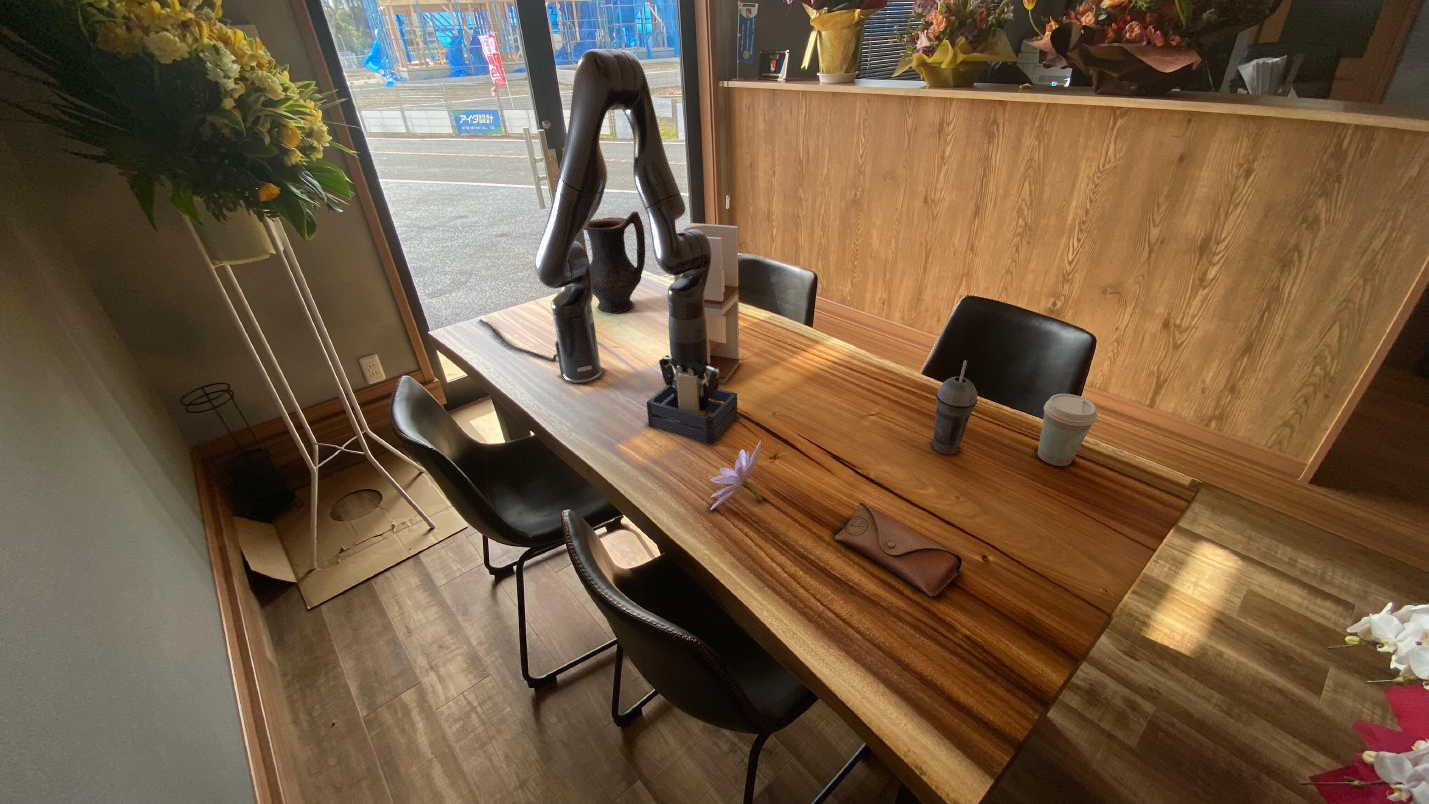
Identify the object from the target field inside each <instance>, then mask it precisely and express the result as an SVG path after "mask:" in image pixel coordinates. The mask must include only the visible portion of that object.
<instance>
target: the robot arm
mask: <svg viewBox="0 0 1429 804" xmlns="http://www.w3.org/2000/svg"><path fill="white" fill-rule="evenodd" d="M573 78H574V79H573V86H572V95H571V104H570V111H569V112H570V113H569V120H568V128H567V132H566V139H565V143H564V148H563V153H562V157H561V162H560V165H559V169H558V174H557V177H556V178H557V179H556V182H555V189H554V192H553V193H554V194H553V198H552V203H551V207H550V210H549V214H548V218H547V222H546V225H545V228H544V230H543V234H542V237H541V239H540V242H539V244H538V248H537V250H536V255H535V259H534V267H535V273H536V277H537V279H538V281H539V282H540V284H542V286H544V287H546V288H548V289H553V290H554V289H560V288H561V289H560V290H559V292H558V293H557V294H556V295H555V296H554V297H553V299H552V300H551V301H550V307H551V308H550V309H551V314H552V318H553V323H554V329H555V334H556V340H555V342H554V345H555V350H556V353H555V354H553V357H547V356H544V355H541V354H539V353H537V352H534V351H531V350H527V349H523V348H520V347H517V346H514V345H513V344H510V343H508V341H505V339H503V338H502V337H501V336H499V335H498V333H497V332H496V330H495V329H494V328H493V327H492V326H491V325H489V324H488V323H487V322H485V321H484V320H482V319H479V320H478V321H479V322H480V323H481V324H483V325H484V326H485V327H486V328H488V329H489V330H490V331H491V332H492V334H493V336H495V337H496V339H498V340H499V341H500V342H501V344H503V345H505V346H507V347H509V348H510V349H513V350H515V351H518V352H522V353H526V354H529V355H532V356H534V357H537V358H540V359H543V360H547V361H550V362H555V361H556V360H557V361H558V362H557V363H558V366H559V371H560V376H561V377H563V378H564V380H565V381H567V382H568V383H572V384H586V383H590V382H593V381H595V380H597V379H598V378H600V377H601V376H602V373H603V371H602V366H601V359H600V353H599V346H598V339H597V333H596V327H595V319H594V314H593V313H594V312H593V306H592V302H593V297H594V295H593V290H592V280H591V269H590V264H591V262H590V259H589V255H588V254H587V251H586V249H585V248H584V246H583V245H582V244H581V243H580V242H578V241H577V240H576V239H577V238H578V237H579V235H580V234H581V233H582V232H583V231H584V230H583V229H584V228H585V227H586V225H587V224H588V223H589V222H590V221H591V220H593V217H594V216H595V215H596V213H597V212H598V211H599V210H598V209H600V205H601V203H602V200H603V196H604V193H605V190H606V186H607V182H608V170H607V169H608V168H607V164H606V160H605V157H604V154H603V152H602V148H601V144H600V137H601V132H602V128H603V123H604V120H605V118H606V115H607V113H608V111H619V110H622V112H623V113H624V116H625V117H626V119H627V121H628V124H629V126H630V129H631V131H632V132H631V133H632V138H633V161H632V162H633V164H632V166H633V167H632V169H633V173H632V174H633V179H634V180H633V181H634V184H635V188H636V190H637V191H636V192H637V194H638V196H639V198H640V200H641V203H642V205H643V208H644V210H645V212H646V214H647V217H648V221H649V228H650V229H649V230H650V234H651V241H652V242H651V243H652V249H653V254H654V258H655V261H656V263H657V265H658V266H659V268H660V269H661V270H662V271H663V272H664V273H666V274H667V275H669V276H672V277H674V276H675V275H680V276H679V278H678V279H677V280H676V281H675V280H674V281H673V282H672V283H671V284H670V286H669V287H668V289H667V307H668V339H669V352H670V353H669V354H670V355H669V354H666V355H665V356H663V357H661V359H659V360H658V363H659V367H660V370H661V374H662V379H663V381H664V384H665V385H666V386H667V385H670V386H672V388H673V389H674V399H675V401H676V404H677V405H678V406H679V403H678V389H677V374H678V372H679V373H682V372H687V373H688V374H689V375H690V376H696V375H698V379H700V378H701V380H700V381H699V380H697V386H698V392H699V395H700V396H699V407H700V411H704V410H705V409H706V408H707V407H708V406H709V400H710V399H709V396H712V395H713V394H714V393H715V392H716V391H717V389H719V384H720V383H719V379H720V375H721V369H720V368H719V367H717V368H716V369H715V368H713V367H710V366H709V364H708V362H707V326H706V317H705V306H704V290H705V286H706V283H707V278H708V273H709V268H710V263H711V247H710V243H709V240H708V238H707V237H706V235H705V234H704V233H703V232H701V231H700V230H697V229H690V230H687V231H684V232H680V233H676V232H677V228H676V227H677V226H676V221H678V219H680V218H681V217H682V216H684V214H685V212H686V205H685V201H684V198H683V196H682V193H681V191H680V189H679V186H678V184H677V182H676V179H675V177H674V174H673V171H672V169H671V166H670V164H669V160H668V158H667V154H666V151H665V147H664V144H663V140H662V136H661V132H660V127H659V123H658V119H657V115H656V110H655V108H654V107H655V106H654V101H653V99H652V95H651V91H650V86H649V82H648V79H647V75H646V73H645V70H644V67H643V65H642V63H641V61H640V60H639V58H638V57H637V56H636V55H635V54H634V53H633V52H631V51H629V50H625V49H611V48H610V49H609V48H592V49H588V50H586V51H585V52H583V54H582V55H581V56H580V57H579V59H578V62H577V65H576V69H575V72H574V77H573ZM674 370H675V371H674ZM705 372H707V373H708V378H709V381H707V377H706V374H705ZM705 411H706V410H705Z"/></svg>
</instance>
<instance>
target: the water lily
mask: <svg viewBox="0 0 1429 804" xmlns="http://www.w3.org/2000/svg"><path fill="white" fill-rule="evenodd" d="M761 447H762V440H760V441H759V442H758V444H757V446H756V448H755V450H754V451H753V452H752V455H751V457H750V454H749V451H747V452H746V451H745V449H741V450H740V451H739V453H738V455H737V459H736V460H735V462H734V469H732V468H729V467H720V468H719V472H720V474H719V475H716V476H714V477H712V478H710V481H712V482H713V483H715V484H719V485H729V486H725V487H723V488H721V489H719V490H717V491H715V492H714V493H713V494H712V495H711V496H710V498H715V497H719V496H720V497H719V498H718V499H717V500H716V501H715V503H714V504H713V505H712V506H711V507H710V510H709V511H712V510H714V509H715V508H717V507H719V506H721V505H723V504H724V503H726V502H727V501H728V500H730V498H731V497H733V496H734V495H735V494H736V493H737V492H738V491H739V490H740V489H741V488H742V487H743V485H745V486H746V487H747V488H748V489H749V490H750V491H751V492H752V494H753V495H754V496H755V497H756V499H757V500H758V501H759V502H761V501H763V497H762V496H761V495H760V493H759V492H757V490H756V489H755V488H754V487H753V486H752V485H751V484H750V483H749V482H748V481H747V480H749V478H750V477H751V475H752V474H753V472H754V469H755V467H756V464H757V463H758V460H759V457H760V453H761Z"/></svg>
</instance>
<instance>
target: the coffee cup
mask: <svg viewBox="0 0 1429 804" xmlns="http://www.w3.org/2000/svg"><path fill="white" fill-rule="evenodd" d="M1043 411H1044V412H1043V419H1042V424H1041V429H1040V430H1041V431H1040V436H1039V442H1038V447H1037V448H1038V449H1037V456H1038V457H1039V459H1040V460H1042V461H1043V462H1045V463H1047V464H1049V465H1052V466H1058V467H1065V466H1069V465H1071V463H1072V462H1073V461H1074V458H1075V457H1076V455H1077V453H1078V451H1079V450H1080V448H1081V445H1082V444H1083V442H1084V440H1085V439H1086V437H1087V435H1088V433H1089V431H1090V430H1091V428H1092V426H1093V424H1095V423H1096V422H1097V419H1098V413H1097V406H1096V405H1095V403H1093V402H1092V401H1090V400H1089V399H1087V398H1085V397H1082V396H1080V395H1075V394H1070V393H1058V394H1057V393H1056V394H1054V395H1051V397H1050V398H1049V399H1048V400H1047V401H1046V402H1045V404H1044V405H1043Z"/></svg>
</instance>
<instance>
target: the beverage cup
mask: <svg viewBox="0 0 1429 804" xmlns="http://www.w3.org/2000/svg"><path fill="white" fill-rule="evenodd" d="M967 364H968V360H966V359H964V360H963V364H962V367H961V372H960V374H959V375H960V376H952V377H950V378H948V379H946V380H945V381H943V382H942V383H941V384H940V386H939V388H938V390H937V392H936V394H935V397H936V400H935V401H936V402H935V403H936V404H935V405H936V411H935V421H934V429H933V430H934V432H933V444H932V445H933V449H934V450H935V451H936V452H938V453H940V454H943V455H954V454H956V453H957V452H958V449H959V447H960V445H961V443H962V439H963V437H964V435H965V431H966V428H967V426H968V423H969V420H970V417H971V414H972V413H973V411H974V409H975V406H976V405H977V404H978V391H977V389H976V387H975V384H974V383H973V382H972V381H971V380H970V379H968V378H966V377H964V376H965V372H966V368H967Z"/></svg>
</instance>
